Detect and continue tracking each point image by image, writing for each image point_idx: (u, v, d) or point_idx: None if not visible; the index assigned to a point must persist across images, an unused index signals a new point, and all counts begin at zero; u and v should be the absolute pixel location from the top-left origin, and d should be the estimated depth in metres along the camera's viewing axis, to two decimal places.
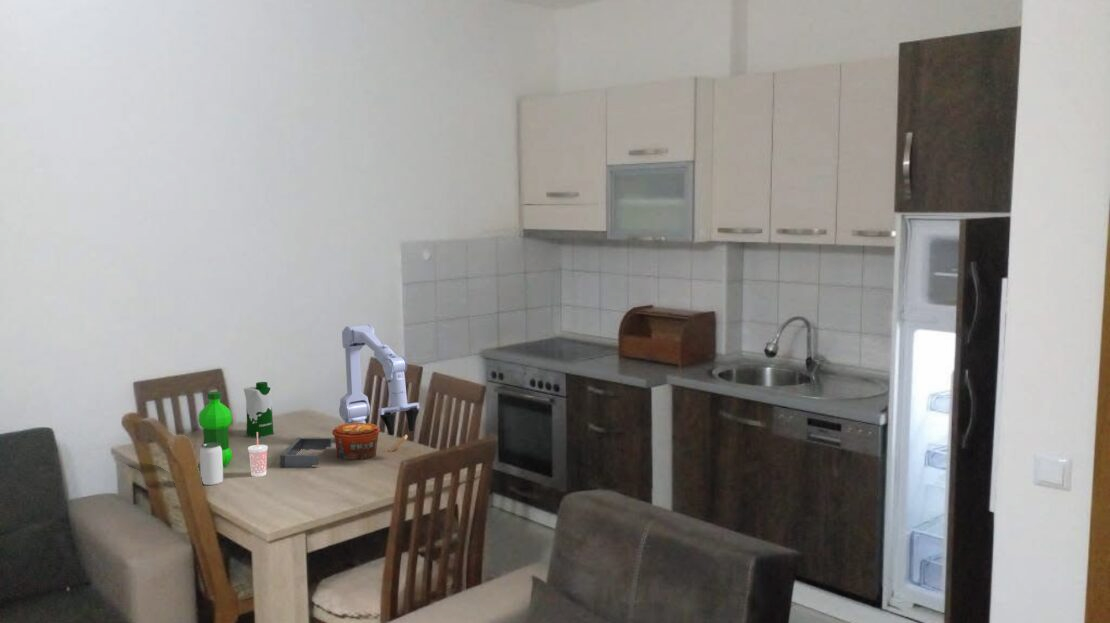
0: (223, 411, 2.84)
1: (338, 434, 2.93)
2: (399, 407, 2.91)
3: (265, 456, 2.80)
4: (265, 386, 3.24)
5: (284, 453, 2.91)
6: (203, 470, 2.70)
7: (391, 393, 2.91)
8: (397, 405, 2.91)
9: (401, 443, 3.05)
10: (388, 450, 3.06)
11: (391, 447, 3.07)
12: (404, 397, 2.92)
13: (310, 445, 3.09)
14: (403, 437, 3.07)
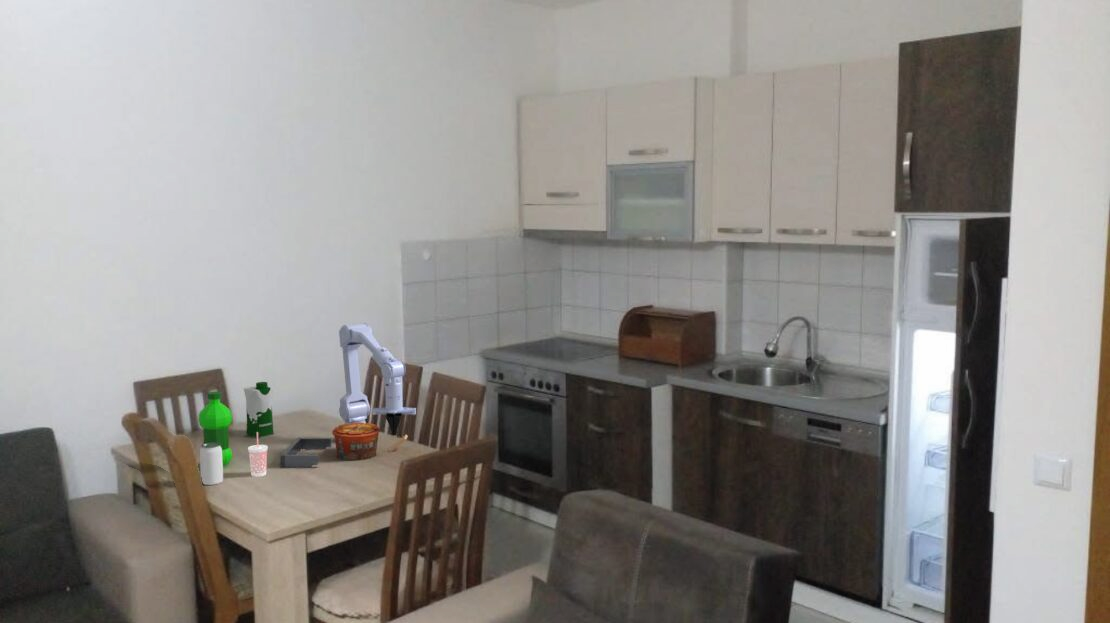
0: (223, 411, 2.84)
1: (338, 434, 2.93)
2: (389, 411, 2.96)
3: (265, 456, 2.80)
4: (265, 386, 3.24)
5: (284, 453, 2.91)
6: (203, 470, 2.70)
7: None
8: (388, 409, 2.96)
9: (401, 443, 3.05)
10: (388, 450, 3.06)
11: (391, 447, 3.07)
12: (395, 402, 2.96)
13: (310, 445, 3.09)
14: (403, 437, 3.07)
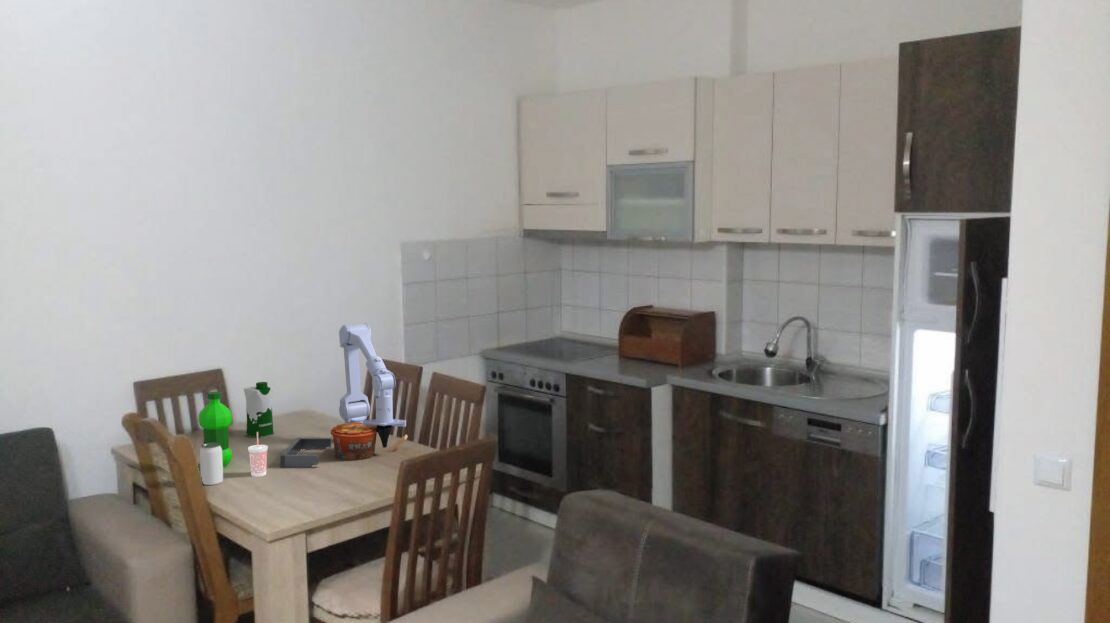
0: (223, 411, 2.84)
1: (336, 434, 2.93)
2: (379, 423, 2.96)
3: (265, 456, 2.80)
4: (265, 386, 3.24)
5: (284, 453, 2.91)
6: (203, 470, 2.70)
7: None
8: (378, 421, 2.97)
9: (401, 443, 3.05)
10: (388, 450, 3.06)
11: (391, 447, 3.07)
12: (385, 414, 2.96)
13: (310, 445, 3.09)
14: (403, 437, 3.07)
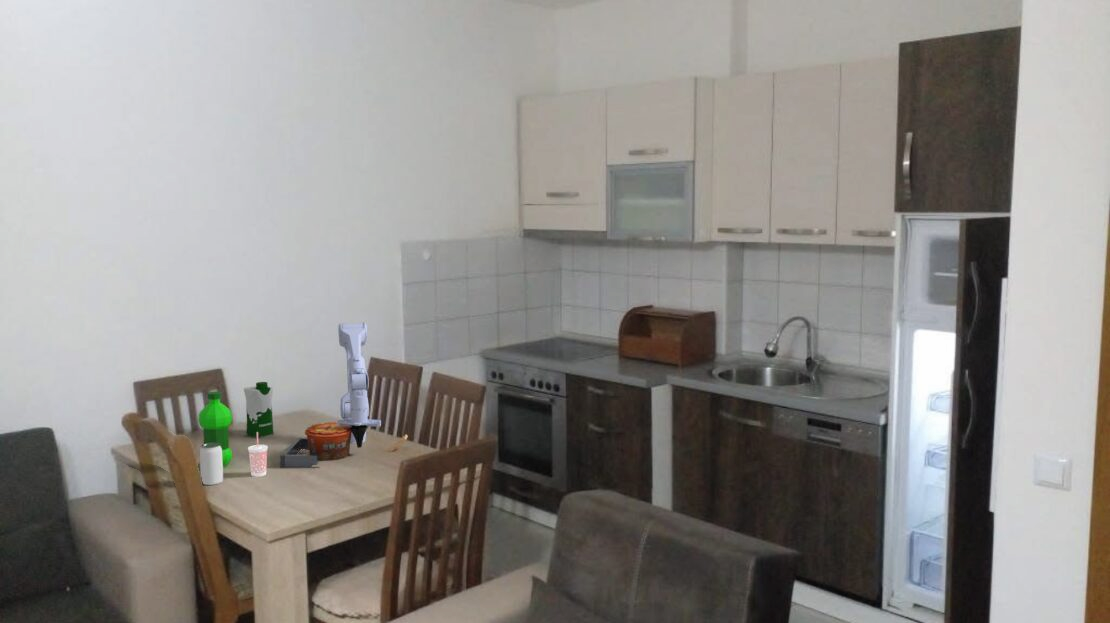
0: (223, 411, 2.84)
1: (310, 434, 2.92)
2: (353, 423, 2.96)
3: (265, 456, 2.80)
4: (265, 386, 3.24)
5: (284, 453, 2.91)
6: (203, 470, 2.70)
7: (350, 408, 2.97)
8: (352, 421, 2.96)
9: (401, 443, 3.05)
10: (388, 450, 3.06)
11: (391, 447, 3.07)
12: (360, 414, 2.96)
13: None
14: (403, 437, 3.07)
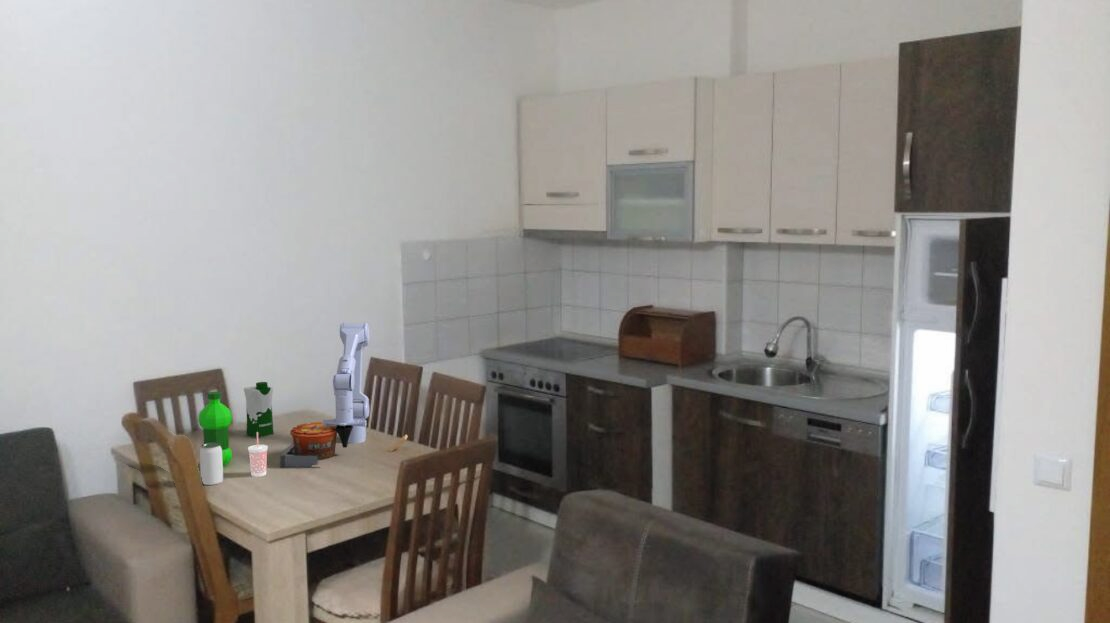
0: (223, 411, 2.84)
1: (295, 434, 2.92)
2: (338, 423, 2.96)
3: (265, 456, 2.80)
4: (265, 386, 3.24)
5: (284, 453, 2.91)
6: (203, 470, 2.70)
7: None
8: (337, 421, 2.96)
9: (401, 443, 3.05)
10: (388, 450, 3.06)
11: (391, 447, 3.07)
12: (345, 414, 2.95)
13: None
14: (403, 437, 3.07)
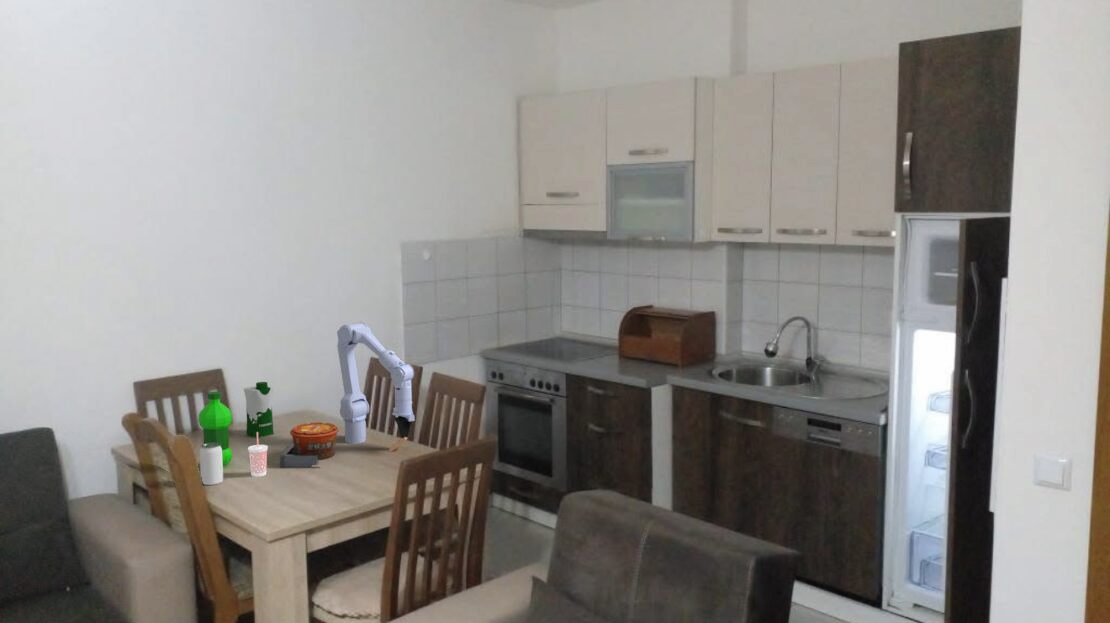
0: (223, 411, 2.84)
1: (295, 434, 2.92)
2: None
3: (265, 456, 2.80)
4: (265, 386, 3.24)
5: (284, 453, 2.91)
6: (203, 470, 2.70)
7: None
8: None
9: (401, 443, 3.05)
10: (388, 450, 3.06)
11: (391, 447, 3.07)
12: (397, 405, 3.03)
13: None
14: None
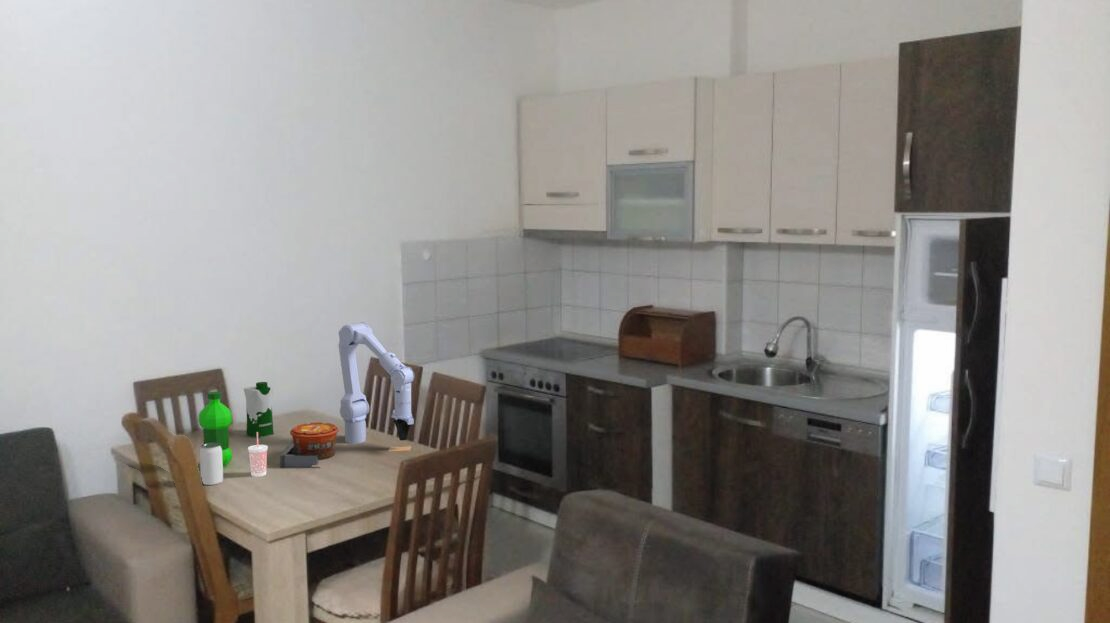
0: (223, 411, 2.84)
1: (295, 434, 2.92)
2: (394, 415, 3.06)
3: (265, 456, 2.80)
4: (265, 386, 3.24)
5: (284, 453, 2.91)
6: (203, 470, 2.70)
7: None
8: None
9: None
10: (388, 450, 3.06)
11: (392, 449, 3.07)
12: (396, 408, 3.03)
13: None
14: (407, 448, 3.08)
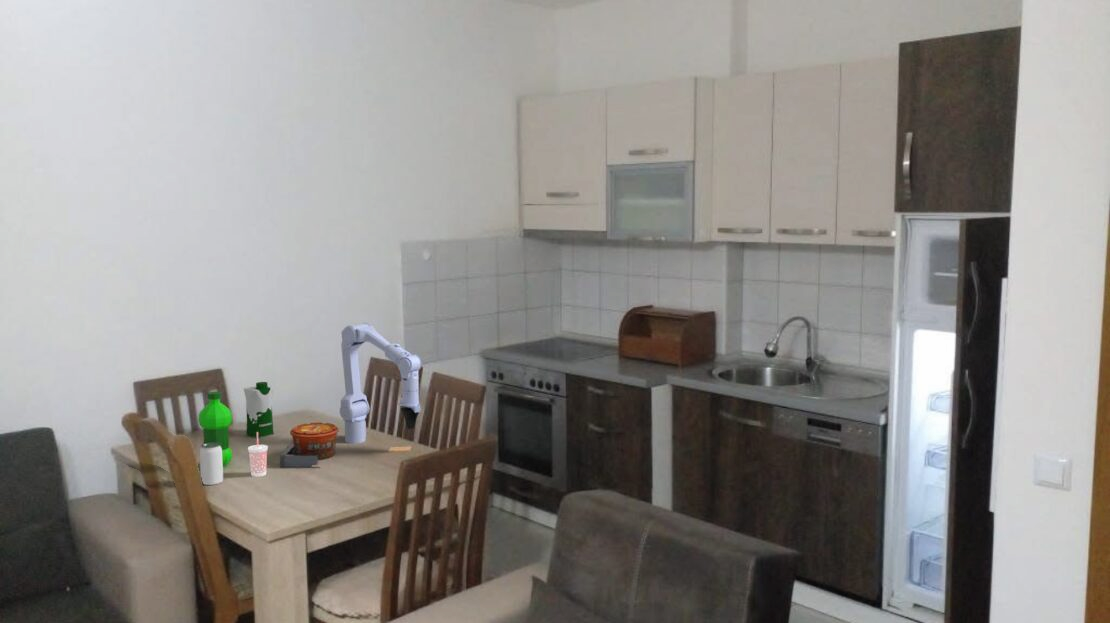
0: (223, 411, 2.84)
1: (295, 434, 2.92)
2: None
3: (265, 456, 2.80)
4: (265, 386, 3.24)
5: (284, 453, 2.91)
6: (203, 470, 2.70)
7: None
8: None
9: None
10: (388, 450, 3.06)
11: (392, 449, 3.07)
12: (403, 396, 3.00)
13: None
14: (407, 448, 3.08)
